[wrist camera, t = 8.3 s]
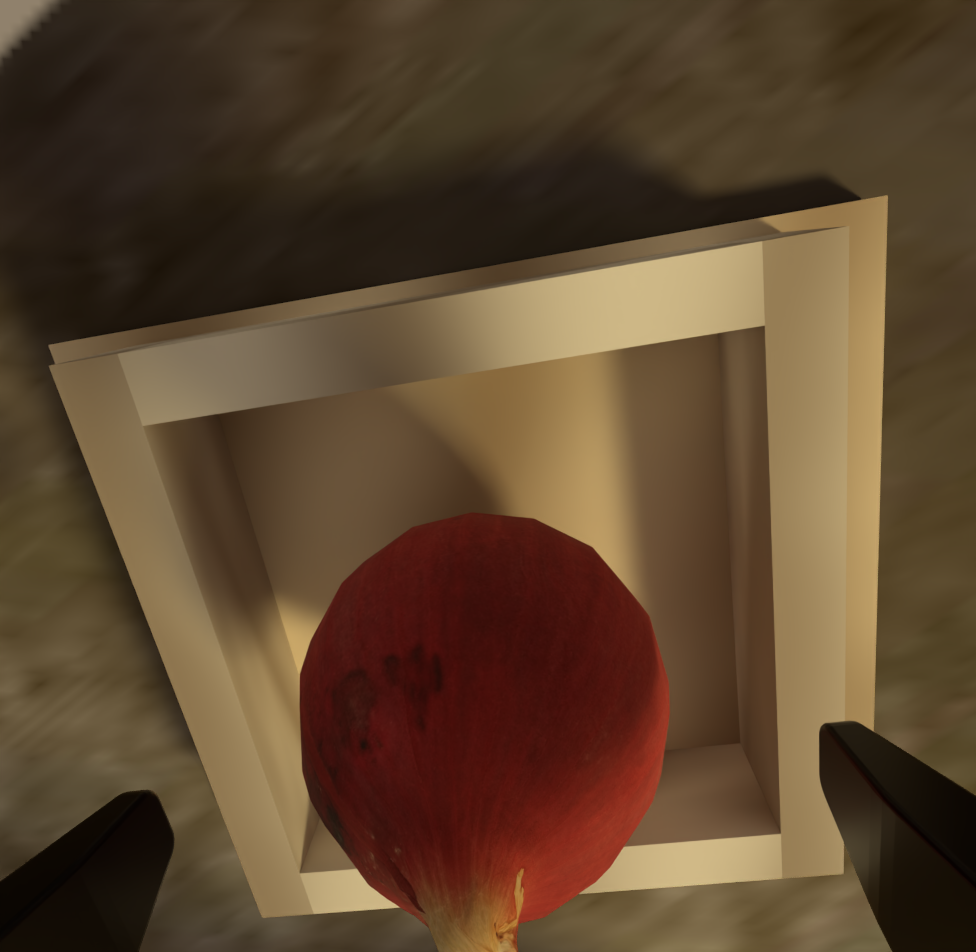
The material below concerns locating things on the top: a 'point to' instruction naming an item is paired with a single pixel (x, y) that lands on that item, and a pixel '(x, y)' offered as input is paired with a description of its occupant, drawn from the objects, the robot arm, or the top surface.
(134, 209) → the top surface
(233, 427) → the tray
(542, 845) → the onion
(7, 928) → the robot arm
